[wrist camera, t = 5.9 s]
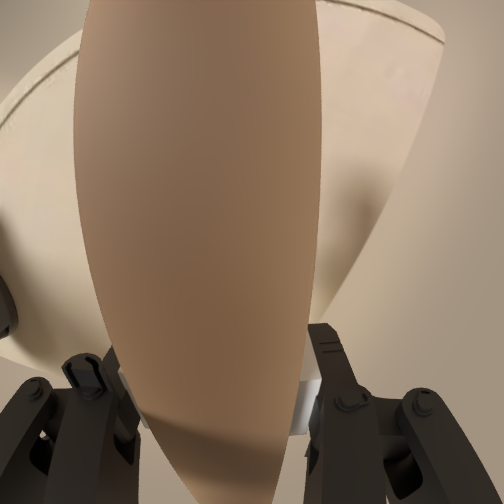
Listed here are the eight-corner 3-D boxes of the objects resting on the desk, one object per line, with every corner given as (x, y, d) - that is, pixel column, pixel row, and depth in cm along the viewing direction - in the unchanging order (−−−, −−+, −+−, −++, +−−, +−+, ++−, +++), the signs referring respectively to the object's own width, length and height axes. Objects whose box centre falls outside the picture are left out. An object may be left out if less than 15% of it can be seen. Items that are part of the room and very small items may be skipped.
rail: (209, 456, 13) (203, 509, 9) (160, 36, 6) (99, -29, 2) (266, 457, 13) (269, 511, 9) (281, 29, 6) (307, -54, 2)
